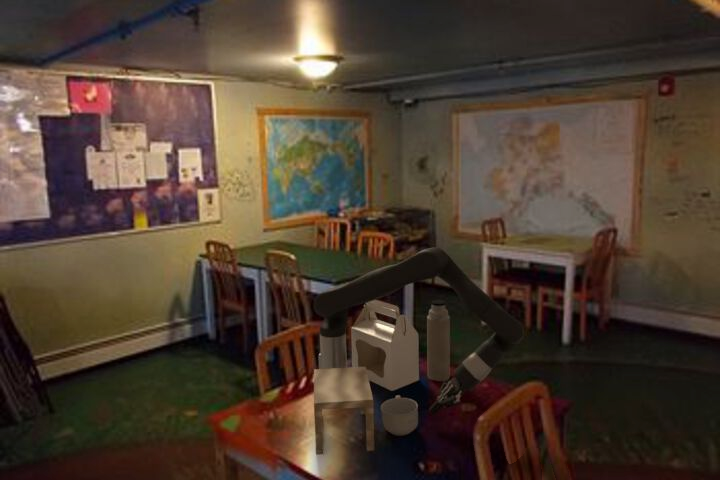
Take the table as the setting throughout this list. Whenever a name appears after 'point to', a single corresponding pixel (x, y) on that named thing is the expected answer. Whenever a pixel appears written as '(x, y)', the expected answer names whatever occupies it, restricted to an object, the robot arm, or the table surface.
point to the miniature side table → (342, 398)
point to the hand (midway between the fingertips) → (431, 412)
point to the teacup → (400, 415)
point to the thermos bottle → (438, 342)
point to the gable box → (385, 346)
